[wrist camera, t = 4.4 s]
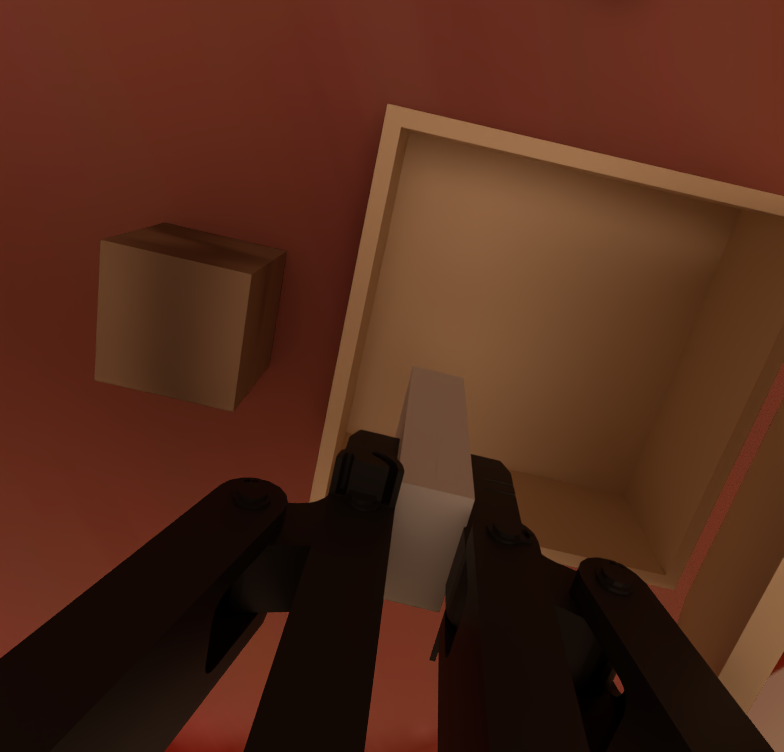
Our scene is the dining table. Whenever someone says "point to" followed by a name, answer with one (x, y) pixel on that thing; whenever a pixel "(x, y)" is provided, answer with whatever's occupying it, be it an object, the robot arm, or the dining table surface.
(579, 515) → the box
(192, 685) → the robot arm
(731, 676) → the lid
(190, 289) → the block
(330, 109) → the dining table surface
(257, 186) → the dining table surface
